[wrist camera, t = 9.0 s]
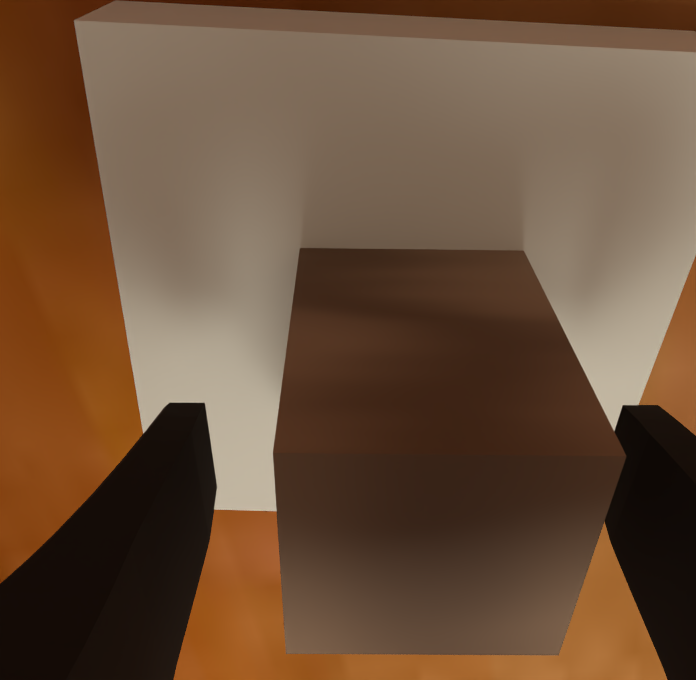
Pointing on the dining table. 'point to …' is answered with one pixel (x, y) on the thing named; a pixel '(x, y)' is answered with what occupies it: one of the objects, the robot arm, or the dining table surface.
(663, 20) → the dining table surface
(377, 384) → the walnut block
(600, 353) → the base block
